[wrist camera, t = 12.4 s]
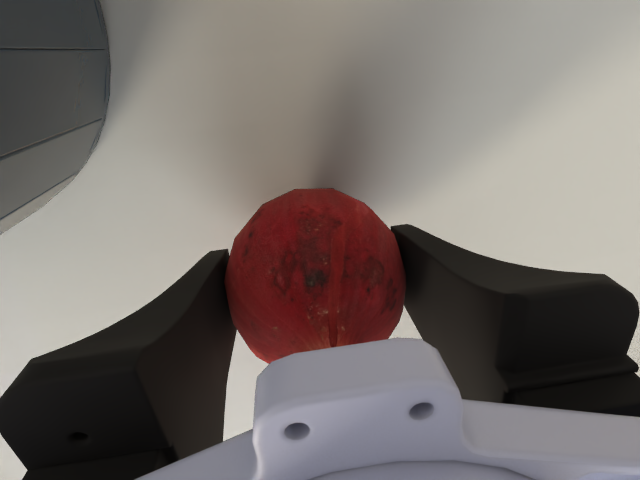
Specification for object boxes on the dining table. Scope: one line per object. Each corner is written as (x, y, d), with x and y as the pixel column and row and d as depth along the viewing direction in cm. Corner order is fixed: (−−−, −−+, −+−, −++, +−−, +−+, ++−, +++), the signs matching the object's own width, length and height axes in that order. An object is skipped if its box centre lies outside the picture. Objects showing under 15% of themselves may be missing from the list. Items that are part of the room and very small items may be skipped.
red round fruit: (229, 164, 14) (181, 280, 7) (379, 159, 15) (476, 262, 8) (244, 293, 17) (220, 471, 10) (371, 285, 17) (437, 449, 10)
